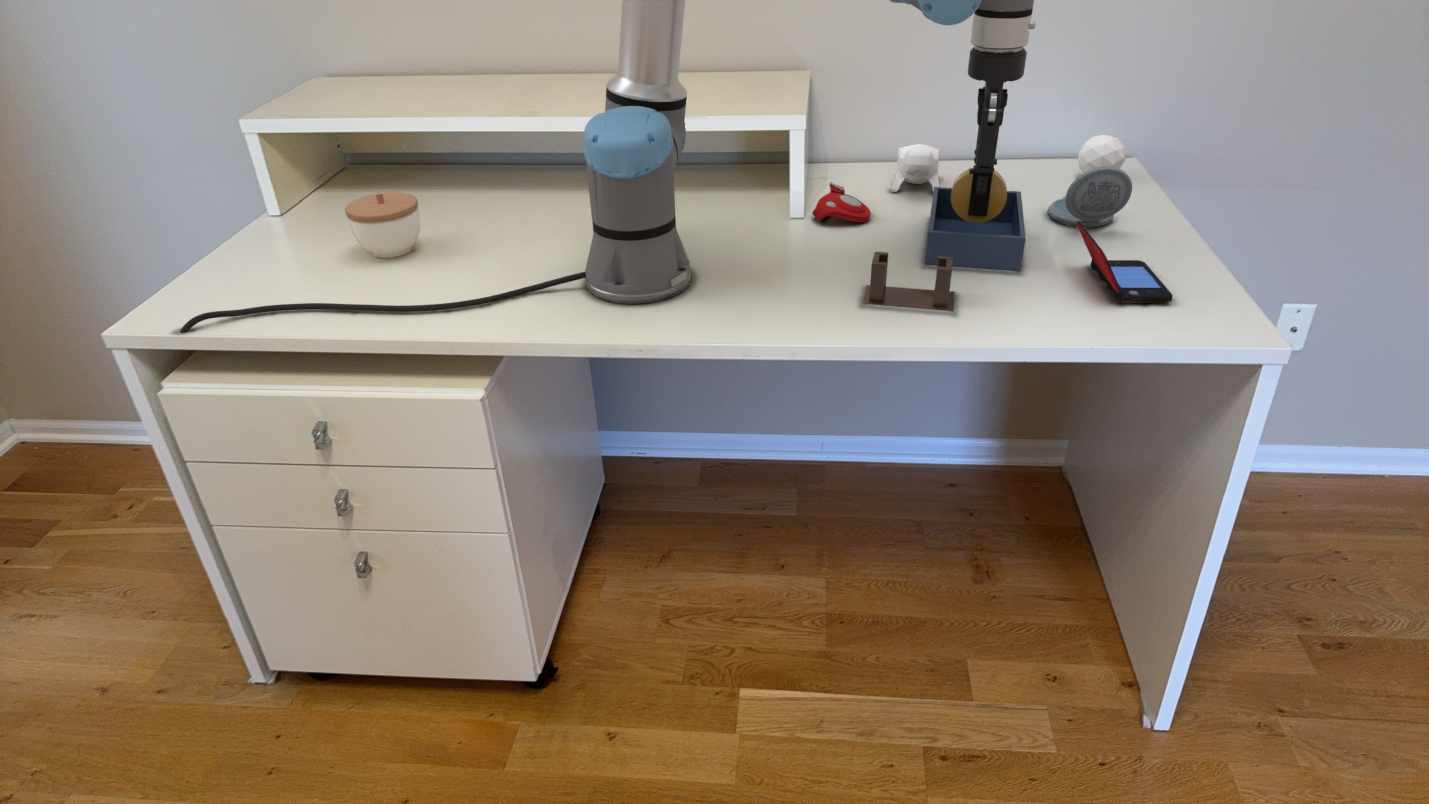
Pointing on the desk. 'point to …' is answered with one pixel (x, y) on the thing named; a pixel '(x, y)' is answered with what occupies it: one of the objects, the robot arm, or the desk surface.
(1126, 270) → the handheld console
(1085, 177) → the pocket watch
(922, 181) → the white animal figurine
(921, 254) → the desk surface
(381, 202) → the trinket box
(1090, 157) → the geometric ball
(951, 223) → the bin
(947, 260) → the holder
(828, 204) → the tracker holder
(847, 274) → the desk surface
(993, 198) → the disc
